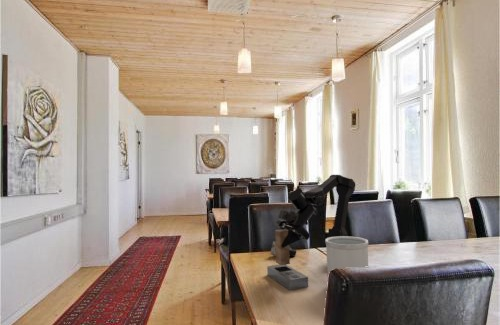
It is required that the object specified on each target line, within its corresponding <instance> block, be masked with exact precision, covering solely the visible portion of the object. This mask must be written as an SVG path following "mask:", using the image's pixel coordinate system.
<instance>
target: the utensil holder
mask: <svg viewBox="0 0 500 325" xmlns="http://www.w3.org/2000/svg"><path fill="white" fill-rule="evenodd" d="M324 242H325V246H326V248H325V249H326V268H327V276H328V275H329V272H330V271H331V270H332V269H335V268H346V267H365V266H368V267H369V240H368V239H367V238H365V237H364V238H363V237H357V236H349V235H347V236H337V237H329V238H328V237H327V238H325V240H324Z"/></svg>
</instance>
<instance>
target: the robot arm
mask: <svg viewBox="0 0 500 325" xmlns="http://www.w3.org/2000/svg"><path fill="white" fill-rule="evenodd" d="M355 188H356V182H355V180H354V179H352V178H349V177H345V176H343V175H341V174H330V175H329V176H328V177H327V179H326V180H324V181H323V182H322V183H321V184H320V185H318V186H317V187H315V188H311V189H309V190H306V191H305V192H303V191H304V190H302V188H298V187H297V188H296V189H294V190H293V191H291V192H290V193H289V194H288V197H287V199H288V200H289V202H290V203H291V204H292V206H293V208H295V209H296V210H297V211H296V212H295V211H293V210H289V211H285V210H283V209H281V210H280V211H279V214H278V216H277V218H279V219H278V220H277V221H276V222H275V225H276V226H278V228H279V230H283V229H285V230H287V231H288V235H287V237H286V238H285V240H284V242H283V243H282V245H281V247H282V248H284V247H286V246H288V245H289V246H290V245H292V244H293V243H296V242H298V241H301V240H304V241H308V240H309V239H310V237H311V233H310V232H309V231H308V230H307V229H306V228H305V227H304V226H308V225H309V222H308V221H309V220H310V218H311V217H312V216H313V215H315V216H317V215H318V213H319V212H318V208H316V207H314V206H320V205H322V203H323V202H324V201H325V199H326V195H327V194H329V193H330V192H331V191H332V190H333V189H335V191H336V194H337V195H338V196H337V197H338V198H337V203H336V211H335V215H334V223H333V226H332V228H329V229H328V231H327V236H326V237H327V238H329V237H337V236H348V232H347V230H346V224H347V223H346V222H347V215H348V208H349V201H350V198H351V196H352V195H354V193H355ZM282 219H283V220H282Z"/></svg>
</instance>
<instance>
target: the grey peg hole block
mask: <svg viewBox="0 0 500 325" xmlns="http://www.w3.org/2000/svg"><path fill="white" fill-rule="evenodd" d="M266 269H267V271H266V272H267V276H269V277H270V279H273V280H274V281H276V282H278V283H279V285H282V286H283V287H285V289H287V290H289V291H291V290H293V291H294V290H297V289H304V288H307V287H309V276H307V275H305V274H303V273H302V272H301V271H298V270H297V269H295V268H293V267H291V266H289V264H286V265H279V264H274V265H268V266H267V268H266Z"/></svg>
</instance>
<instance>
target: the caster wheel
mask: <svg viewBox="0 0 500 325" xmlns="http://www.w3.org/2000/svg"><path fill="white" fill-rule="evenodd" d="M271 245H272V246H271V249H270V253H269V254H270V256H275V257H276V241H273V242H272V244H271ZM289 254H290V256H291V257H296V255H297V250H296V249H294V248H292V247H290V246H289Z"/></svg>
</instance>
